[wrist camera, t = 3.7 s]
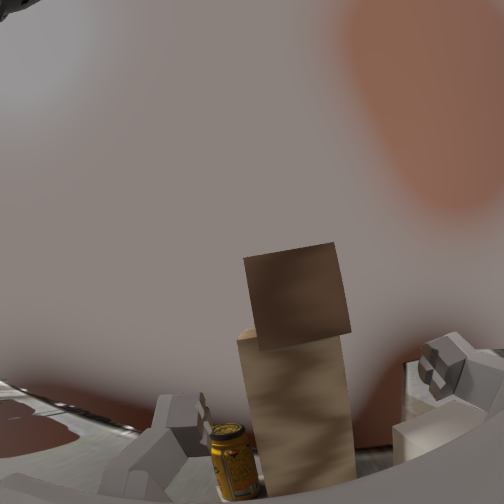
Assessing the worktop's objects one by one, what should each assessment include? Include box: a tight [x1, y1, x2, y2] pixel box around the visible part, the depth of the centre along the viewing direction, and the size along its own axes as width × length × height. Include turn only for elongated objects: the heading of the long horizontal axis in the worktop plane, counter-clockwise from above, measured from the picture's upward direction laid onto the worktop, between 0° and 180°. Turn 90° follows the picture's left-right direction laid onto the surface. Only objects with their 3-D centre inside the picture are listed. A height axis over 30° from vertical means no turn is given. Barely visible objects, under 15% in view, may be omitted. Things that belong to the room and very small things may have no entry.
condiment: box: [209, 423, 268, 502], centre depth 35 cm, size 7×8×12 cm
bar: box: [243, 242, 351, 352], centre depth 22 cm, size 4×20×4 cm, turn 179°
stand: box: [237, 328, 356, 498], centre depth 24 cm, size 7×13×26 cm, turn 179°
